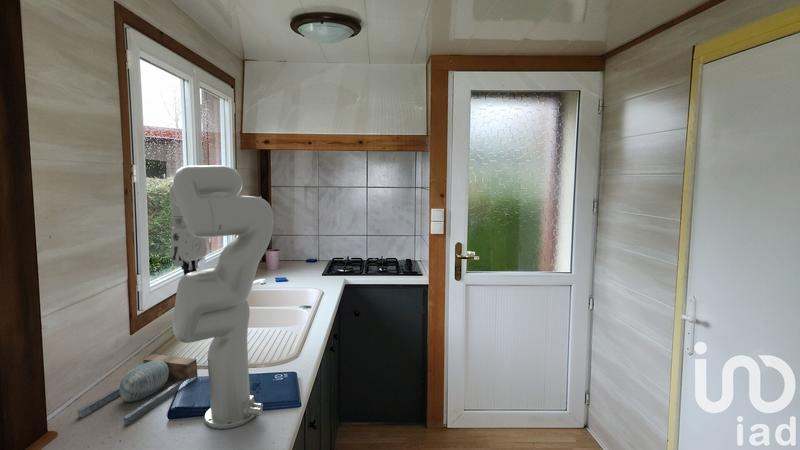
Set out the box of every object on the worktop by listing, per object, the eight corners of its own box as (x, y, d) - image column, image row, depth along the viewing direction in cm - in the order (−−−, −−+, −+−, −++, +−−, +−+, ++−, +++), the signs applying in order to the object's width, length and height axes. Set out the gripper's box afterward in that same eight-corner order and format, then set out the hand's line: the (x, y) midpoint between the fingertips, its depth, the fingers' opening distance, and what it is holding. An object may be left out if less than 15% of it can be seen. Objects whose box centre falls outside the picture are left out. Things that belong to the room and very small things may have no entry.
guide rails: (188, 384, 135) (188, 377, 135) (128, 425, 114) (127, 418, 113) (144, 378, 139) (144, 372, 138) (78, 417, 117) (77, 410, 117)
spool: (151, 367, 138) (153, 345, 133) (175, 385, 137) (178, 363, 132) (109, 398, 127) (110, 375, 122) (135, 418, 125) (137, 395, 120)
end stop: (197, 377, 139) (196, 359, 138) (188, 384, 135) (187, 364, 134) (154, 372, 142) (153, 354, 142) (144, 378, 139) (143, 359, 138)
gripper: (179, 225, 126) (184, 289, 129) (213, 218, 141) (217, 276, 143) (156, 224, 128) (161, 288, 131) (192, 218, 143) (196, 275, 145)
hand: (190, 282), depth 137 cm, fingers closed
